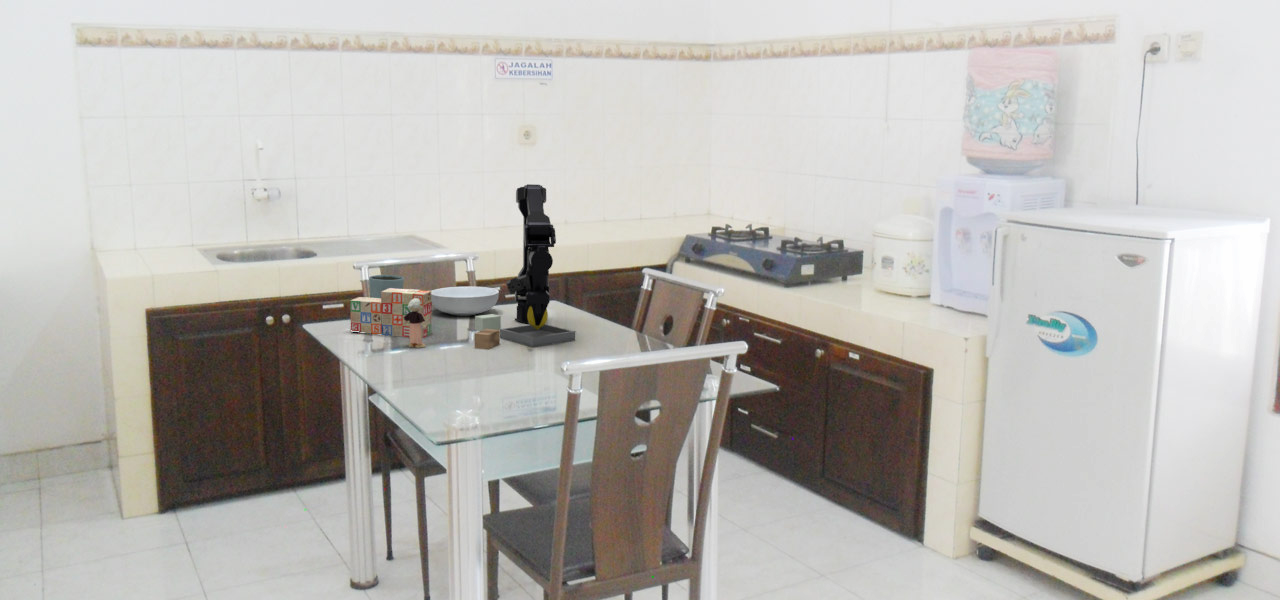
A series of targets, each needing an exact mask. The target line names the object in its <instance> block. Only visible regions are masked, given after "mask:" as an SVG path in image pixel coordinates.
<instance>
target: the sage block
mask: <svg viewBox="0 0 1280 600" xmlns="http://www.w3.org/2000/svg"><path fill="white" fill-rule="evenodd" d="M501 321H502V316H501V315H497V314H495V313H490V314H489V313H488V314H481V315H474V329H475V331H478V332H480V331H482V330H484V329H493V330H500V329H502V328H501V327H502V323H501Z"/></svg>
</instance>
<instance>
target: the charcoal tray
mask: <svg viewBox="0 0 1280 600" xmlns="http://www.w3.org/2000/svg"><path fill="white" fill-rule="evenodd" d="M501 339H502V340H506V341H508V342H512V343H517V344H520V345H524V346H526V347H527V346H528V347H531V348H536V347H541V346H548V345H549V346H550V345H554V344H555V345H556V344H561V343H560V342H562V343H567V342H566V341H568V342H573V341H572V340H574V341H576V331H575V330H571V329H567V328H564V327H560V326H555V325H551V324H548V323H546V324H545V325H544V326H543V327H541V328H540V329H539V330H536V329H535V328H534V327H533V326H531V325H530V324H527V325H520V326H519V325H518V326H513V327H512V326H511V327H506V328H501V329H500V340H501Z"/></svg>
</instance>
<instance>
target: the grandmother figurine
mask: <svg viewBox="0 0 1280 600" xmlns="http://www.w3.org/2000/svg"><path fill="white" fill-rule="evenodd" d="M420 304H421V301H420V300H419V299H417V298H414V299H412V300H411V301H410V302H409V304H408V307H409V308H410V309H411V310H412V311H413V312H409V313H408V314H407V315H406V316H405V317H404V321H403V325H406V324H407V321H409V323H410V332H409V335H410V337H409V344H408V347H409V348H410V347H411V348H414V347H415V348H417V349H420V348H421V349H422V348H426V344H425V343H423V338H422V336H421V324H422V328H423V329H426V324H425V320H424V318H423V316H422V314H421V313H419V312H418V311H419V310H420Z"/></svg>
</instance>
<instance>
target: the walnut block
mask: <svg viewBox="0 0 1280 600" xmlns="http://www.w3.org/2000/svg"><path fill="white" fill-rule="evenodd" d="M500 340H501V338H500V330H493V329H484V330H482V331H478V332H475V333H474V349H481V350H482V349H483V350H490V349H493V348H494V347H496V346H499V345H500V344H501V342H500Z"/></svg>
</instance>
